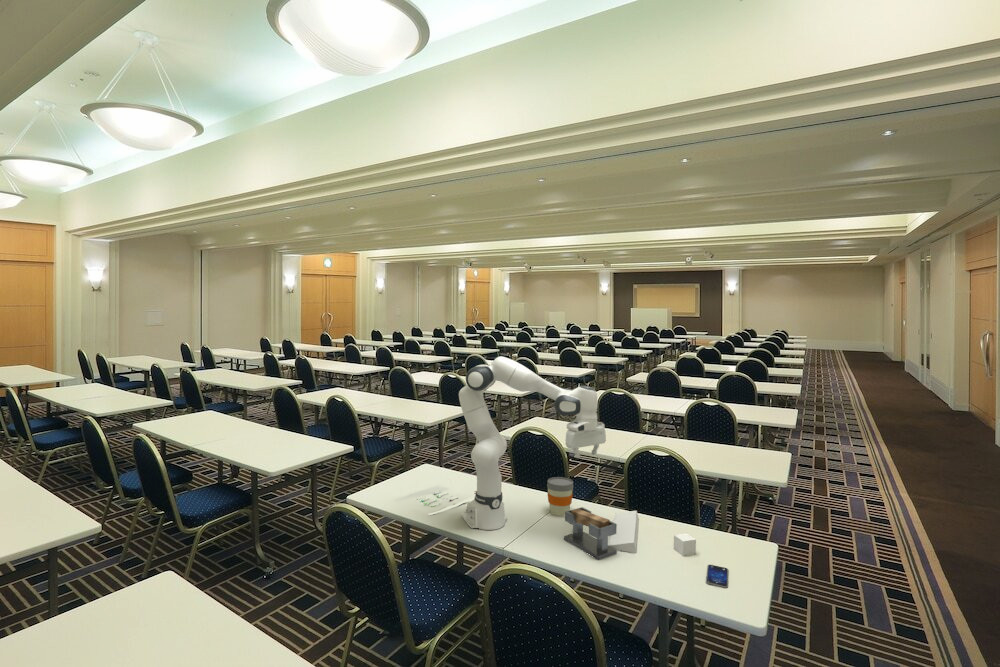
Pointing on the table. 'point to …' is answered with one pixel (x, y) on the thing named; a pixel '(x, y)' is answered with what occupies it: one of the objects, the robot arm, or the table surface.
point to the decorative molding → (625, 532)
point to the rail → (590, 518)
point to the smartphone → (717, 576)
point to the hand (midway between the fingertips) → (585, 455)
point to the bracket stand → (589, 543)
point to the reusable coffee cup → (559, 495)
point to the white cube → (684, 544)
